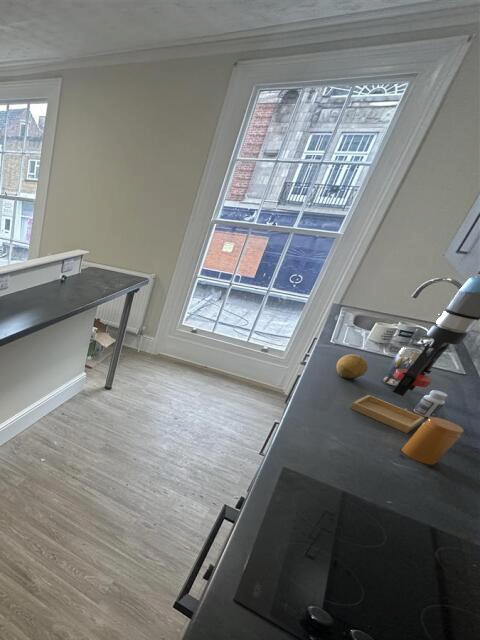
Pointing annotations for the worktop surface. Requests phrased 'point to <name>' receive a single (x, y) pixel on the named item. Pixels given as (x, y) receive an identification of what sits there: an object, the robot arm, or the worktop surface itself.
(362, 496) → the worktop surface
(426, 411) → the pill bottle
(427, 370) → the robot arm
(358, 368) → the potato
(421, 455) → the jam jar
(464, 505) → the worktop surface
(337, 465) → the worktop surface
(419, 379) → the lid
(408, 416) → the tray
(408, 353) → the beer glass
